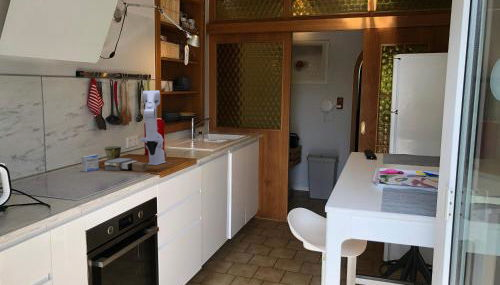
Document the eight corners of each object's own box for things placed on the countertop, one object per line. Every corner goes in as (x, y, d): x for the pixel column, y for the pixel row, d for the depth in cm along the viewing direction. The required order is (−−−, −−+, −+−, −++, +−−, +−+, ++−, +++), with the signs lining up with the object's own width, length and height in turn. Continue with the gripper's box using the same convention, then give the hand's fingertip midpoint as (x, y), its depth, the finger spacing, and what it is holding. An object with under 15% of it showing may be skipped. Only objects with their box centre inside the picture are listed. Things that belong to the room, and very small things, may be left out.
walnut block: (138, 169, 244) (137, 162, 243) (148, 170, 240) (148, 163, 239) (132, 170, 240) (131, 163, 239) (142, 171, 236) (142, 164, 235)
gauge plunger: (127, 165, 249) (126, 159, 249) (139, 166, 246) (138, 160, 245) (113, 169, 239) (112, 162, 238) (125, 170, 235) (124, 163, 235)
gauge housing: (119, 165, 254) (119, 157, 253) (133, 166, 249) (132, 158, 249) (104, 169, 243) (104, 161, 242) (118, 170, 238) (117, 162, 238)
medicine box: (86, 172, 238) (85, 156, 237) (82, 171, 241) (80, 156, 239) (99, 169, 244) (98, 154, 243) (94, 168, 247) (93, 154, 246)
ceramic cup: (104, 162, 267) (103, 146, 266) (120, 160, 271) (119, 145, 270) (106, 165, 255) (105, 149, 254) (124, 164, 260) (122, 147, 258)
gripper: (135, 130, 232) (137, 155, 234) (157, 131, 226) (158, 156, 228) (144, 129, 239) (145, 153, 240) (165, 130, 232) (166, 154, 234)
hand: (152, 154), depth 235 cm, fingers closed
